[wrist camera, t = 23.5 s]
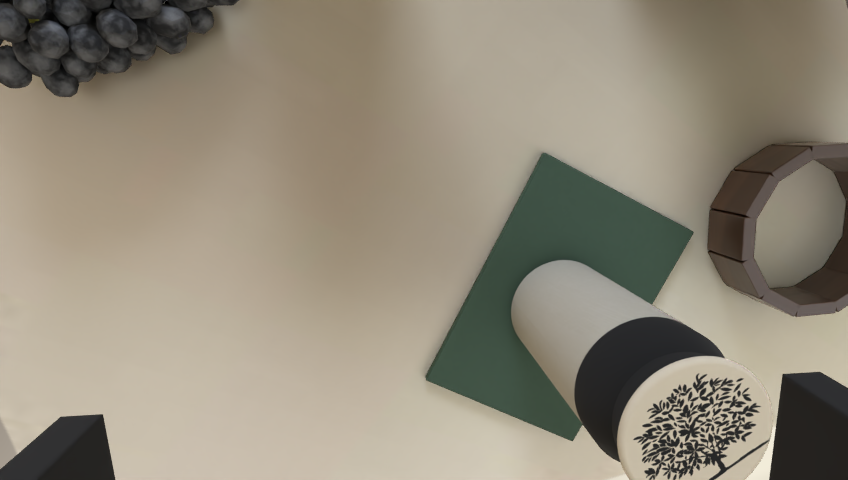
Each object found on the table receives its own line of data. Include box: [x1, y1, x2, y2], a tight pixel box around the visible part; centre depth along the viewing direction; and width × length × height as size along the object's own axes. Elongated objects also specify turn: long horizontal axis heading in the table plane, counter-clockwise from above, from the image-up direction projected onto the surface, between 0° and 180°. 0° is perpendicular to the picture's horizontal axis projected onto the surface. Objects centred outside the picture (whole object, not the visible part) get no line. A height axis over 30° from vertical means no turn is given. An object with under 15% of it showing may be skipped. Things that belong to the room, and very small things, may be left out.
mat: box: [426, 153, 694, 441], centre depth 41 cm, size 20×14×1 cm
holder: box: [708, 142, 848, 317], centre depth 40 cm, size 13×13×4 cm
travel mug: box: [511, 260, 773, 480], centre depth 32 cm, size 8×8×18 cm
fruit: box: [0, 0, 239, 97], centre depth 31 cm, size 9×8×15 cm
